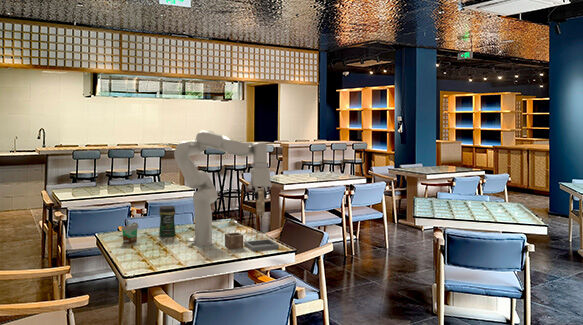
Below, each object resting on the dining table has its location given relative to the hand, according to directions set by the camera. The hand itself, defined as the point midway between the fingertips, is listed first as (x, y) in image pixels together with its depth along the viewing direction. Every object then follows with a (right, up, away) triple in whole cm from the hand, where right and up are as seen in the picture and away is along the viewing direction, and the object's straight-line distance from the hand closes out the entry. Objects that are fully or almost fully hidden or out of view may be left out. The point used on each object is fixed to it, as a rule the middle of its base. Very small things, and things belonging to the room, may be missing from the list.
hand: (260, 198), depth 256 cm
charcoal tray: (0, -28, +2) cm, 28 cm away
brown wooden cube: (-15, -28, +1) cm, 31 cm away
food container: (-75, -26, +16) cm, 81 cm away
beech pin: (0, -9, +1) cm, 9 cm away
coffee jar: (-59, -25, +31) cm, 71 cm away
